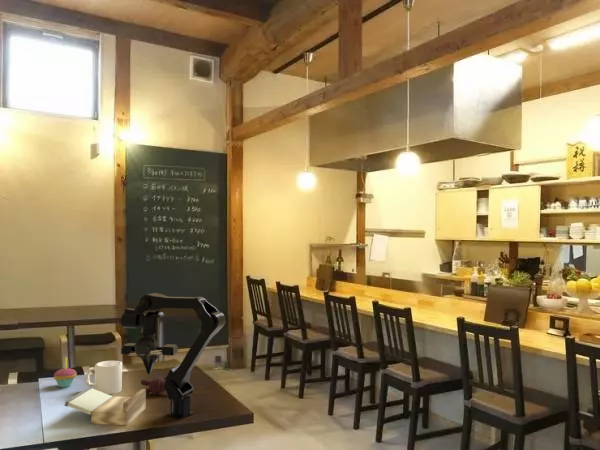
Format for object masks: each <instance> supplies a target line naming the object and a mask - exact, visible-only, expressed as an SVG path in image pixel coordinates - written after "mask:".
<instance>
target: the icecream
mask: <svg viewBox="0 0 600 450" xmlns="http://www.w3.org/2000/svg"><path fill="white" fill-rule="evenodd" d="M164 382H165V380H164V379H163V378H162V376H159V377H156V378H153V379H151V380H149V379H148V378H144V379H141V380H140V384H141V385H142V386H148V388H145V389H146V395H148V394H150V393H151V394H153V395H157V396H162V395H163V393H164V392H167V391H166V390H165V387H164Z"/></svg>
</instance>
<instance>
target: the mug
mask: <svg viewBox="0 0 600 450" xmlns="http://www.w3.org/2000/svg"><path fill="white" fill-rule="evenodd" d="M92 371H94V382H91V381H90V375H91V372H92ZM122 378H123V362H122V361H119V360H104V361H99V362H96V363H95V364H94V367H93V366H92V367H90V368H88V371H87V373H86V375H85V381H86V385H87V387H94V388H93V389H95V390H98V391H100V392H103V393H105V394H108V395H112V394H113V395H114V394H117V393H120V392H121V391H122V388H123V387H122V385H123V384H122V383H123V381H122V380H123V379H122Z"/></svg>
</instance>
